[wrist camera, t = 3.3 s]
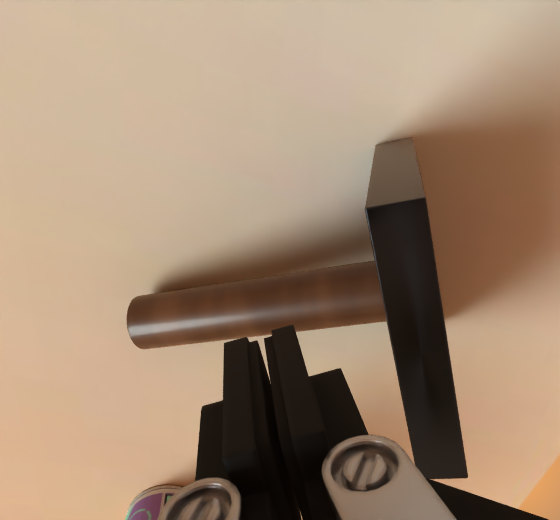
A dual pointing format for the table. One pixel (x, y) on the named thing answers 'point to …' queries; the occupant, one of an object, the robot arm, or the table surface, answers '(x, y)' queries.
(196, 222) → the table surface
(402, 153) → the towel holder
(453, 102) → the table surface
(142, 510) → the spray can
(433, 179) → the table surface
